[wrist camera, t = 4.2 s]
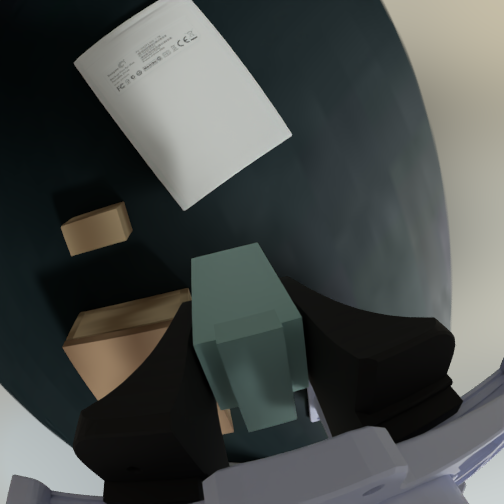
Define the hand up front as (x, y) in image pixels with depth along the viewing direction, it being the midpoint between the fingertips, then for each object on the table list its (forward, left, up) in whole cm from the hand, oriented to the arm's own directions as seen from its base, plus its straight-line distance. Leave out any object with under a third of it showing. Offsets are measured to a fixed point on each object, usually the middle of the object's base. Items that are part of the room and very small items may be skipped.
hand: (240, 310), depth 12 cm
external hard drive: (0, -10, -10) cm, 14 cm away
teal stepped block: (0, 0, -2) cm, 2 cm away
